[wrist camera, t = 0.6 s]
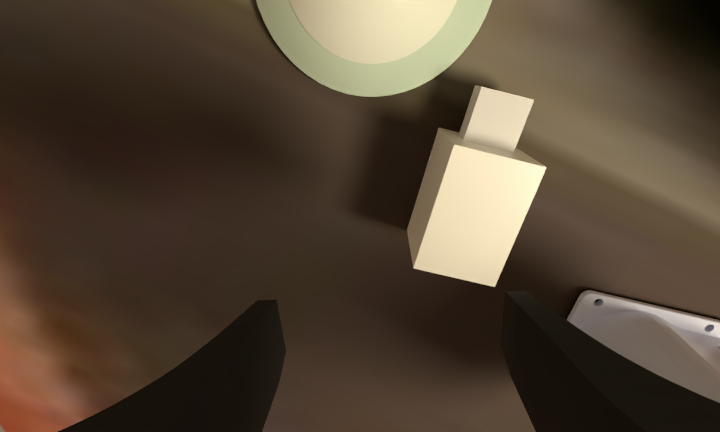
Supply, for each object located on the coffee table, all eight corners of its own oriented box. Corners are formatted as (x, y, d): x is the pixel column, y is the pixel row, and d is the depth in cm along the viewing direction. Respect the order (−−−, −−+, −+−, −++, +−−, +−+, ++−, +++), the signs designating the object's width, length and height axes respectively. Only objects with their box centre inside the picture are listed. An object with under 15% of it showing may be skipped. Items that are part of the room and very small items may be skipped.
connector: (473, 245, 22) (494, 287, 18) (406, 229, 22) (413, 268, 18) (529, 98, 19) (571, 109, 15) (453, 79, 19) (473, 84, 15)
